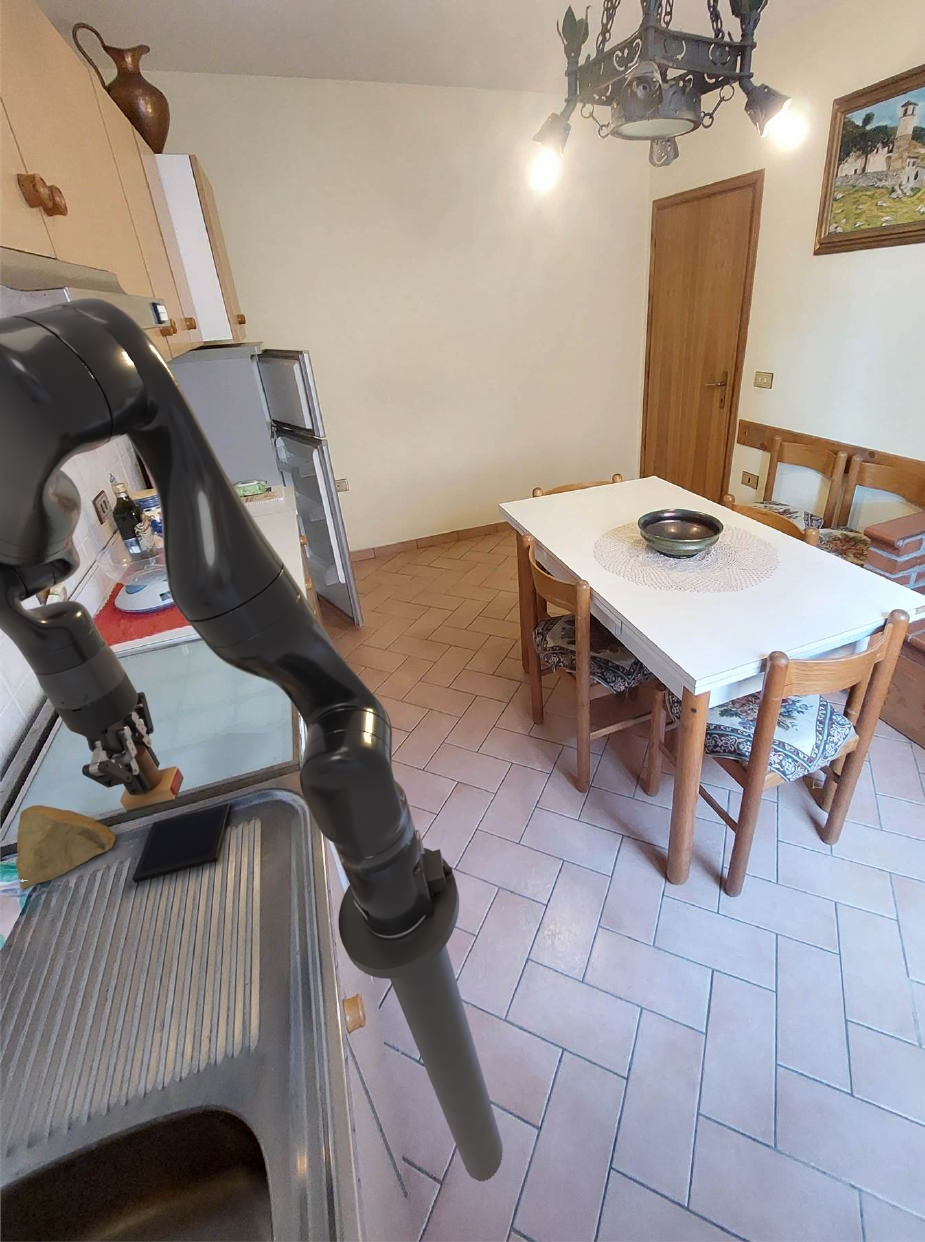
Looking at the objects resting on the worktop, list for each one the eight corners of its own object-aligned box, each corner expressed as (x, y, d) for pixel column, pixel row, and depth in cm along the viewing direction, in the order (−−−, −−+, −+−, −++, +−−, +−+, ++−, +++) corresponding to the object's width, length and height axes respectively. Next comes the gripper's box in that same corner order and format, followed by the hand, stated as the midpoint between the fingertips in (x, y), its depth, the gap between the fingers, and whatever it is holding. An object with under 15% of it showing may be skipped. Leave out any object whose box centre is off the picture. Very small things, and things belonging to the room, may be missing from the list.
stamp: (127, 813, 73) (100, 772, 69) (138, 788, 77) (113, 748, 73) (177, 801, 74) (153, 760, 70) (185, 777, 78) (163, 737, 74)
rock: (130, 810, 84) (68, 803, 84) (89, 812, 76) (21, 804, 77) (102, 892, 80) (37, 884, 80) (56, 903, 72) (-16, 894, 72)
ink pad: (231, 807, 86) (229, 803, 85) (218, 861, 78) (215, 857, 77) (156, 826, 84) (153, 822, 83) (134, 883, 76) (131, 879, 76)
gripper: (79, 654, 71) (135, 747, 79) (21, 734, 59) (94, 834, 67) (142, 642, 72) (190, 735, 81) (97, 718, 60) (159, 818, 69)
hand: (146, 780), depth 74 cm, fingers closed on stamp, 3 cm apart
